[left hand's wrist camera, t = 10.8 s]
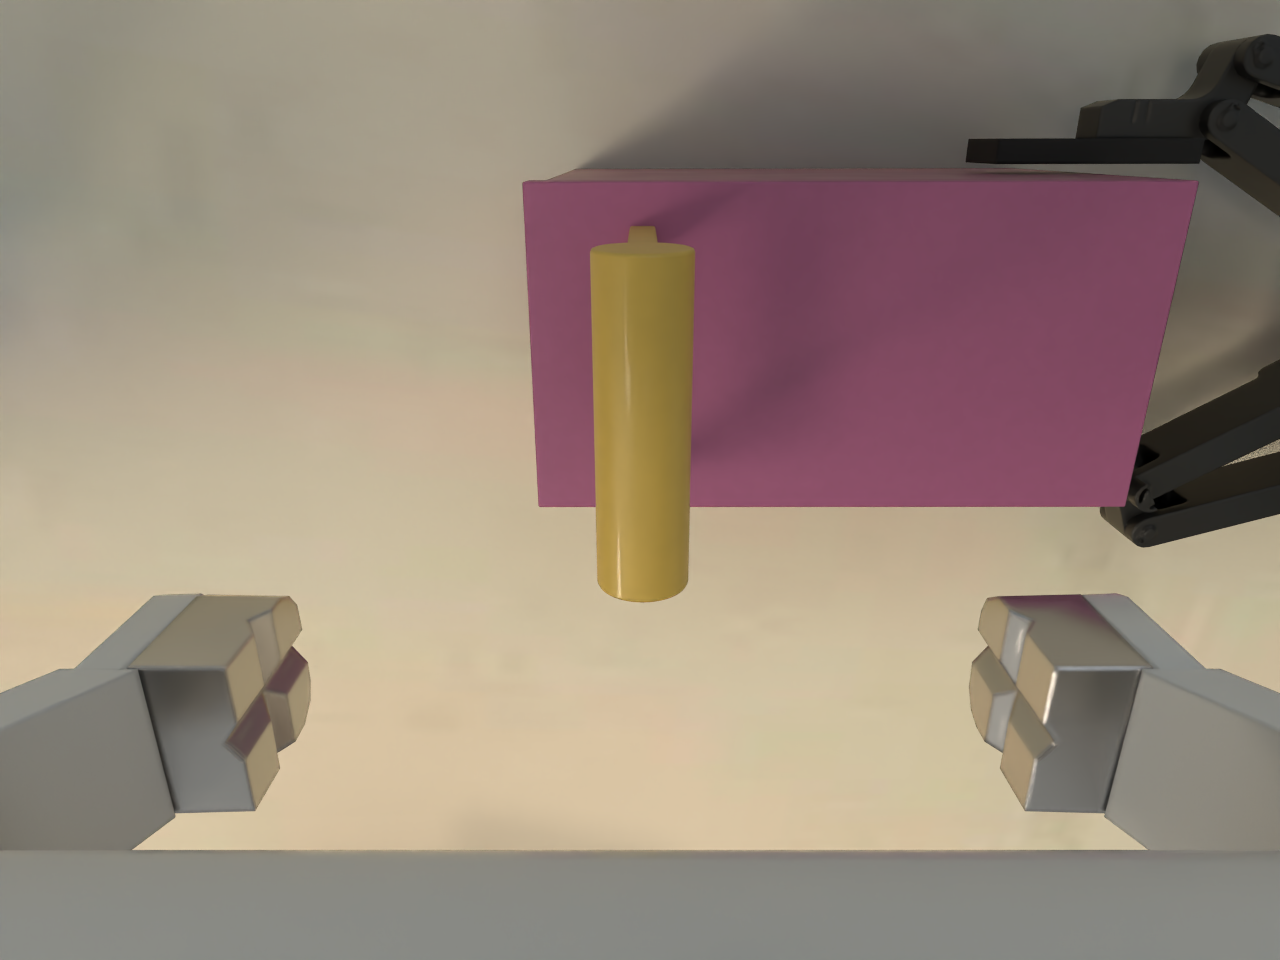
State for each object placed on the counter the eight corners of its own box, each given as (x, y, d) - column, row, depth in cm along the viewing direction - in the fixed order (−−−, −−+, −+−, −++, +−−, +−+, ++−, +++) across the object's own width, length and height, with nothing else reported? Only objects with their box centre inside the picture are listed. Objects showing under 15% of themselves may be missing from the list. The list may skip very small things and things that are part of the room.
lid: (542, 494, 27) (499, 641, 19) (526, 180, 24) (467, 198, 16) (1108, 494, 27) (1304, 642, 19) (1177, 179, 23) (1452, 197, 16)
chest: (580, 396, 38) (556, 494, 27) (574, 168, 34) (543, 180, 24) (977, 395, 38) (1107, 493, 27) (1011, 168, 34) (1176, 178, 24)
